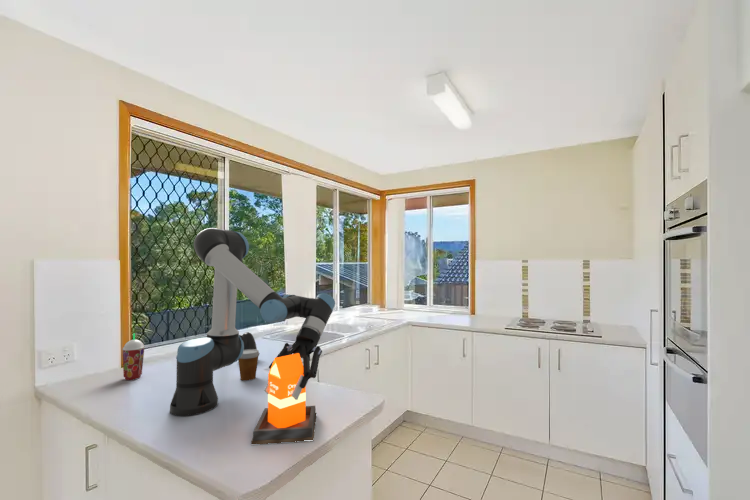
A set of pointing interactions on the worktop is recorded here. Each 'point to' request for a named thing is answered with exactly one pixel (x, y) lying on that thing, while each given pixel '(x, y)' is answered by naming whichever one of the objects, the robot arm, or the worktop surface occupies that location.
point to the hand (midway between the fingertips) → (280, 395)
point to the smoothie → (133, 359)
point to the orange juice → (285, 392)
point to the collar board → (284, 429)
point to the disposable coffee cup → (248, 364)
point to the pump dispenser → (248, 341)
